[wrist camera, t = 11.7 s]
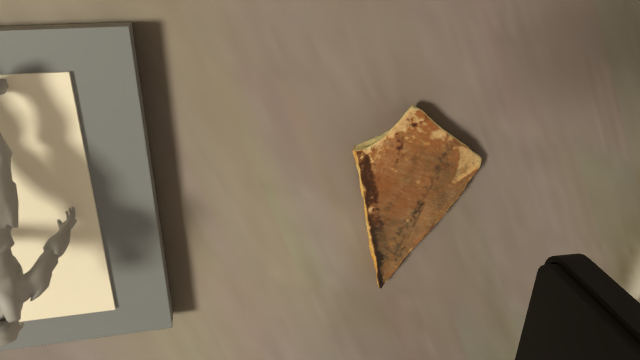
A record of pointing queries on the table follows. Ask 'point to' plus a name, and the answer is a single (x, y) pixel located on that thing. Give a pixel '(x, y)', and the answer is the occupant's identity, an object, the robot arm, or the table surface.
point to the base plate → (83, 181)
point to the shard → (409, 185)
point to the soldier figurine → (3, 268)
